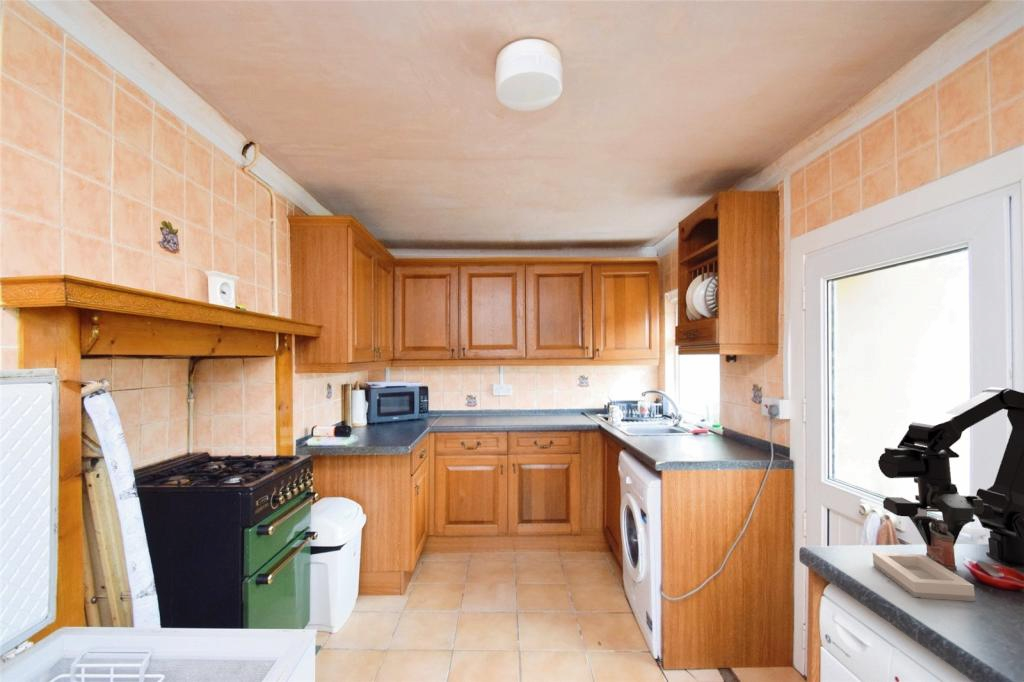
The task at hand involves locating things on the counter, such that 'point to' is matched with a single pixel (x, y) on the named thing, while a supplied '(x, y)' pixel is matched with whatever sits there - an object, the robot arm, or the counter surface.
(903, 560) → the tray
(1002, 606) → the counter surface
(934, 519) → the lighter
